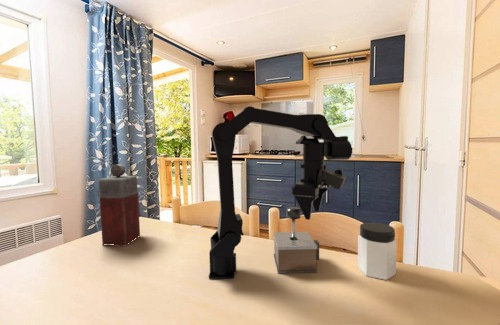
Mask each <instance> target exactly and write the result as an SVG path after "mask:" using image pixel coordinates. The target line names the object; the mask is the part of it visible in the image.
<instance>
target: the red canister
mask: <svg viewBox="0 0 500 325" xmlns="http://www.w3.org/2000/svg"><path fill="white" fill-rule="evenodd" d="M110 173H111V175H112V176H109V177H108V176H107V177H103V178H100V179H99V180H98V196H99V197H98V198H99V210H100V224H101V226H100V227H101V239H102V240H101V241H102V245H103V244H114V245H127V244H128V243H130V242H131V241H132V240H134V239H135V238H137V237H138V236H140V237H141V228H140V203H139V202H140V200H139V191H138V190H139V189H138V178H137V176H135V175H124V174H125V173H126V168H125V166H124V165H123V164H121V163H118V164H116V163H115V164H113V165H111V167H110ZM137 239H138V238H137ZM134 241H135V240H134ZM131 243H132V242H131ZM131 243H130V244H131ZM128 245H129V244H128ZM128 245H127V246H128Z"/></svg>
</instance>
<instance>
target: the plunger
mask: <svg viewBox="0 0 500 325" xmlns="http://www.w3.org/2000/svg"><path fill="white" fill-rule="evenodd" d="M285 213H286V216H285V218H287V219H290V220H291V232H292V240H295V232H296V220H300V219H301V218H302V210H301V208H300V206H288V207H286V211H285Z"/></svg>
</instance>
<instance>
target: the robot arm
mask: <svg viewBox="0 0 500 325" xmlns="http://www.w3.org/2000/svg"><path fill="white" fill-rule="evenodd" d="M328 123H329V122H328V119H327V118H326V116H325V115H323V114H321V113H312V114H311V113H307V114H292V113H286V112H279V111H274V110H268V109H262V108H256V107H254V106H246V107H244V109H242V110H241V112H240V113H238V114H236V115H235V116H234V117H232V118H231V119H230V120H228V121H227V122H219V123H217V124H216V125H215V126H214V127H213V128H212V131H211V140H212V143H213V147H214V151H215V155H216V159H217V160H216V161H217V172H218V173H217V174H218V175H217V176H218V189H219V204H220V208H219V209H220V211H219V217H218V223H217V230H216V231H215V232H214V234H212V235H211V236H210V238H209V240H210V241H209V242H210V250H209V256H208V257H209V274H208V279H211V280H212V279H214V280H215V279H234V278H235V273H237V253H236V252H235V248H236V247H238V245H239V244H240V243H241V241H242V236H244V235H245V234H244V232H243V224H244V222H243V221H244V220H243V218H242V216H241V215H240V213H236V209H235V206H236V205H235V189H234V187H235V186H234V168H233V156H234V150H235V144H236V136H237V134H238V133H240V132H241V131H242V130H243V129H245V128H246V127H247V126H249V124H255V125H262V126H267V127H274V128H281V129H286V130H287V129H288V130H290V131H293V132H295V133H297V134H300V135H301V136H300V138H299V139H298V140H297V141H295V145H302V151H303V152H302V163H301V164H300V168H301V169H302V178H300V181H299V182H296V183H294V184H293V185H292V186H291V195H293V198H295V199H296V202H297V204H298V207H299V208H301V213H302V214H303V216H304V218H305V220H308V221H309V220H310V219H311V216H312V210H313V208H314V211H315V212H317V213H318V212H320V209H321V205H322V202H323V198H324V195H325V193H326V192H327V191H329V189H331V187H332V188H334V190H335V189H336V190H341V189H342V188H343V186H344V183H345V181H346V179H347V176H346V175H344V170H341V169H340V168H338V169H336V170H335V171H333V170H330V169H327V167H328V166H327V164H326V163H325V159H326V160H327V161H344V160H345V161H347V160H350V159H351V157H352V155H353V147H352V144H351V142H350V140H349V136H348V135H339V136H336V135H335V132H334V131H333V130H332V129H331V127H330V125H329V124H328ZM309 137H311V138H309ZM321 140H323V141H321Z"/></svg>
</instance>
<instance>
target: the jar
mask: <svg viewBox="0 0 500 325" xmlns="http://www.w3.org/2000/svg"><path fill="white" fill-rule="evenodd" d="M395 237H396V229H395V228H394V227H392V226H391V225H388V224H385V223H382V222H368V221H367V222H363V223H361V224H360V225H359V234H357V268H358V269H359V270H360V271H361V272H362V273H363V274H364V276H366V277H369V278H375V279H379V280H384V281H388V279H390V278H392V277H393V276H395V275H396V272H397V267H396V266H397V239H396V238H395Z"/></svg>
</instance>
